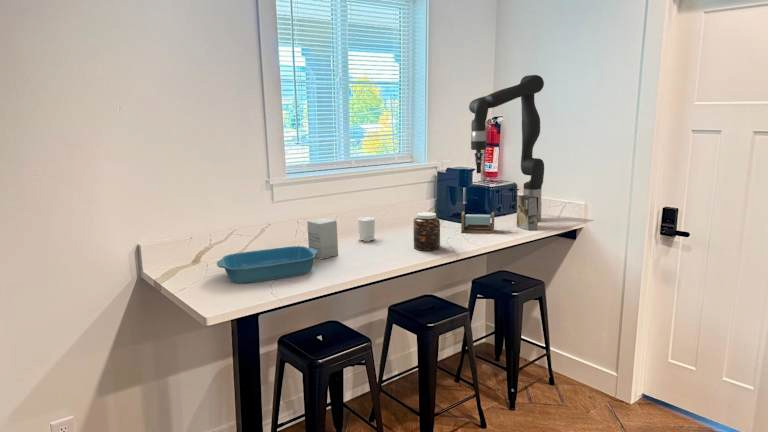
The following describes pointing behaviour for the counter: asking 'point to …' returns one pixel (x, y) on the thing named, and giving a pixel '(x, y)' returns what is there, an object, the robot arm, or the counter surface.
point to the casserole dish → (268, 264)
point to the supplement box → (323, 237)
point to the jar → (426, 232)
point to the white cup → (366, 228)
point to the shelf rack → (476, 226)
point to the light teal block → (477, 219)
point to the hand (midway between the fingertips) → (478, 172)
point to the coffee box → (527, 212)
